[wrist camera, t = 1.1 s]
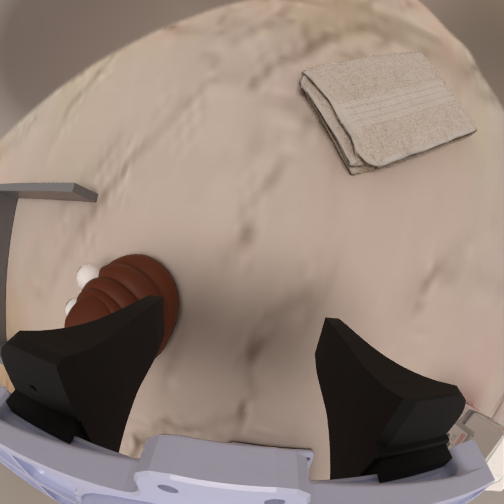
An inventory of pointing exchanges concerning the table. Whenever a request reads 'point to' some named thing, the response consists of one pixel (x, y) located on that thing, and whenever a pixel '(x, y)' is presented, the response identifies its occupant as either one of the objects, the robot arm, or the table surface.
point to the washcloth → (385, 109)
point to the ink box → (482, 440)
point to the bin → (3, 209)
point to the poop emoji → (122, 290)
